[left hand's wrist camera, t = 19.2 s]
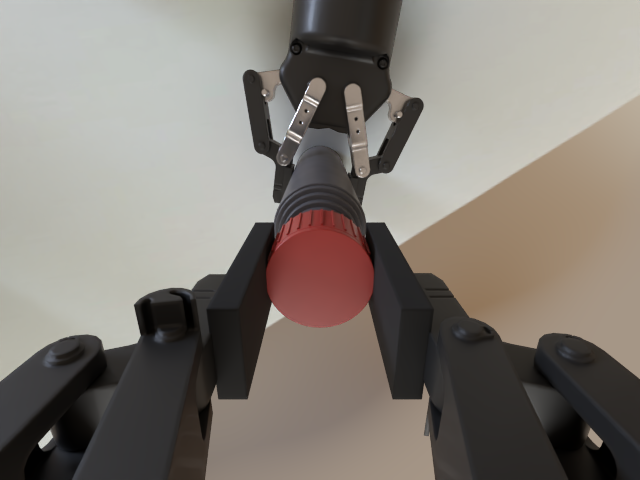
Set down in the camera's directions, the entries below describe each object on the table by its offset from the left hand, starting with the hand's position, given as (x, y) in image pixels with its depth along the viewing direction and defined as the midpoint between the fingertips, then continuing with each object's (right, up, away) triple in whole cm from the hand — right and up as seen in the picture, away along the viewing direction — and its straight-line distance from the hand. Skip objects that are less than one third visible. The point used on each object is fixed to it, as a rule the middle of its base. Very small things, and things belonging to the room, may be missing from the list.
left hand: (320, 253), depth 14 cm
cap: (0, -1, -2) cm, 2 cm away
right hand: (0, +3, +15) cm, 16 cm away
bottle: (0, +8, +20) cm, 22 cm away
